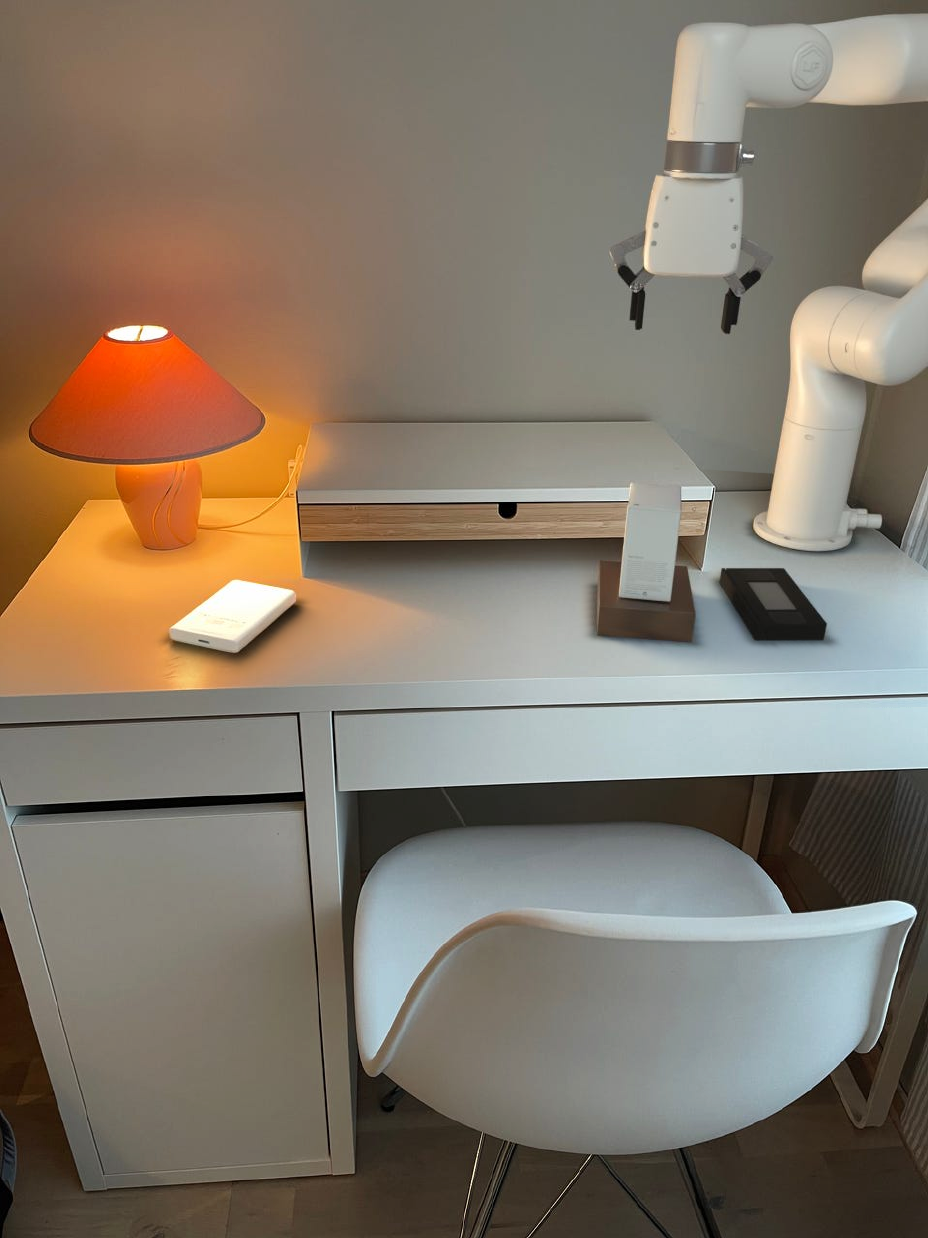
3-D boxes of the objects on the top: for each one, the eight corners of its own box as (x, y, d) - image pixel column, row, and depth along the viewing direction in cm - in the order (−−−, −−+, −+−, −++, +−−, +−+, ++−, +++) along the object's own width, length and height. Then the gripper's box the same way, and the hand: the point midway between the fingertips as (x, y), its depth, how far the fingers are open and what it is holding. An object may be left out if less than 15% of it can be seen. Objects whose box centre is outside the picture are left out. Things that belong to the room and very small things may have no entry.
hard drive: (297, 603, 112) (238, 654, 101) (233, 591, 114) (169, 639, 104) (296, 590, 111) (236, 640, 100) (232, 578, 113) (168, 626, 103)
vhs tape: (781, 583, 119) (783, 568, 118) (824, 641, 106) (827, 624, 105) (719, 583, 119) (721, 568, 118) (755, 641, 106) (758, 624, 105)
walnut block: (683, 593, 116) (687, 566, 114) (691, 642, 105) (695, 613, 104) (597, 587, 117) (600, 560, 115) (596, 635, 106) (599, 606, 105)
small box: (670, 603, 105) (682, 511, 100) (617, 598, 106) (626, 506, 101) (671, 572, 112) (682, 484, 107) (621, 568, 113) (630, 480, 108)
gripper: (781, 161, 105) (755, 326, 113) (617, 157, 107) (603, 319, 115) (792, 165, 99) (765, 340, 107) (618, 160, 100) (603, 332, 108)
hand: (681, 329), depth 111 cm, fingers open, 9 cm apart
